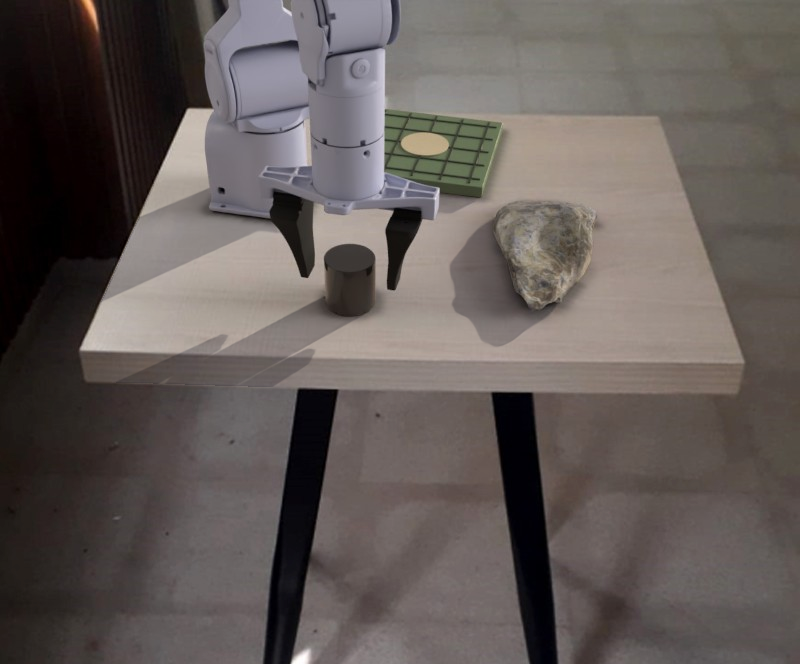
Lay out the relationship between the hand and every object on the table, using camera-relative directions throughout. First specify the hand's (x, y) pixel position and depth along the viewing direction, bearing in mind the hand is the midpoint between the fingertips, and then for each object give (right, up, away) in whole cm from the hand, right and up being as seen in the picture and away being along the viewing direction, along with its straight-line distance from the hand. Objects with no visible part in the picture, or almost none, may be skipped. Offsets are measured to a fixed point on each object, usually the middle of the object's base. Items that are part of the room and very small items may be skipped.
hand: (350, 277), depth 82 cm
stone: (+18, +3, +8) cm, 20 cm away
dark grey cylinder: (0, -2, +2) cm, 3 cm away
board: (+7, +16, +22) cm, 28 cm away
